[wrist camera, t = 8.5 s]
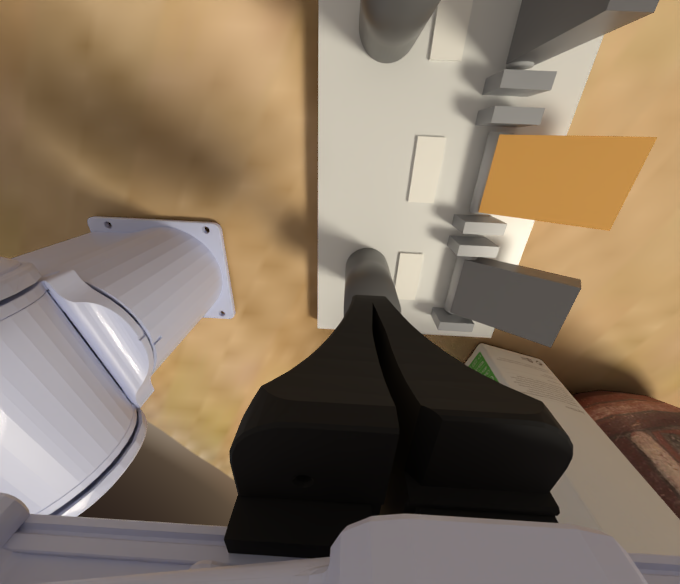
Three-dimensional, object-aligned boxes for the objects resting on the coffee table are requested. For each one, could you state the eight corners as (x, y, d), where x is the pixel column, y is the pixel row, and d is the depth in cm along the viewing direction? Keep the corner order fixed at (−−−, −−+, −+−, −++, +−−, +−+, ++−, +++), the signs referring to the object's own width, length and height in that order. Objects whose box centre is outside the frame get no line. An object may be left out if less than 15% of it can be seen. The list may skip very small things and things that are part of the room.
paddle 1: (441, 310, 20) (550, 348, 16) (455, 255, 18) (582, 286, 14) (447, 303, 21) (551, 338, 17) (461, 250, 19) (581, 278, 15)
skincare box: (479, 339, 24) (657, 605, 10) (546, 358, 24) (797, 632, 11) (435, 402, 28) (519, 658, 14) (493, 417, 28) (629, 675, 14)
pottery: (557, 344, 24) (970, 751, 8) (726, 389, 25) (1351, 802, 9) (459, 458, 32) (564, 767, 16) (591, 487, 34) (804, 793, 18)
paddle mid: (467, 212, 17) (608, 232, 14) (487, 132, 15) (658, 134, 12) (471, 209, 18) (603, 227, 15) (490, 133, 16) (648, 136, 13)
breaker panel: (319, 320, 23) (307, 384, 17) (321, -136, 12) (288, -451, 6) (484, 329, 23) (535, 398, 17) (644, -125, 12) (983, -440, 6)
